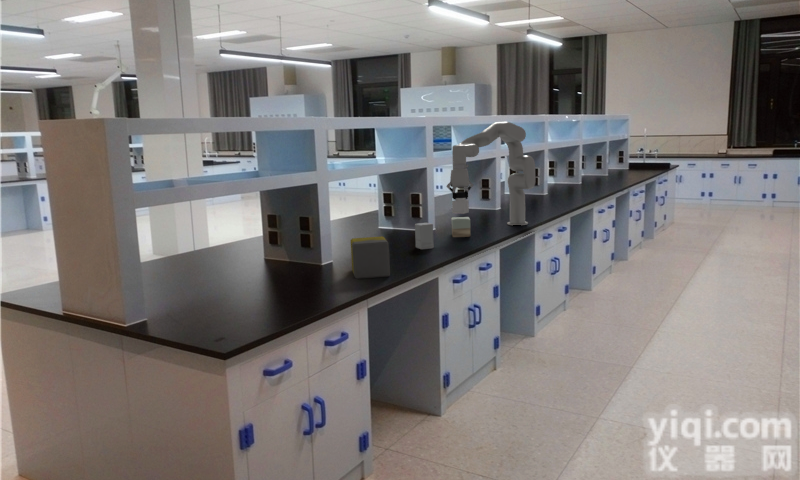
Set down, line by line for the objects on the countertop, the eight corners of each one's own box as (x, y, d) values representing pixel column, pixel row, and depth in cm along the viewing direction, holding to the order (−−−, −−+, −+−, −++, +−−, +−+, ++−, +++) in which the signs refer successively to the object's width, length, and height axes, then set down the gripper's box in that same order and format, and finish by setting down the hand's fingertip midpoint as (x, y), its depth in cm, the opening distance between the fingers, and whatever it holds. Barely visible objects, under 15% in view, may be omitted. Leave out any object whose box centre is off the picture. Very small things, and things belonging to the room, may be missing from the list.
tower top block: (451, 226, 354) (451, 217, 353) (468, 225, 354) (468, 216, 353) (452, 228, 344) (452, 220, 343) (470, 228, 344) (470, 219, 343)
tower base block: (452, 234, 355) (451, 226, 354) (469, 234, 354) (469, 225, 353) (452, 237, 345) (452, 228, 344) (470, 237, 345) (470, 228, 344)
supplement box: (434, 248, 316) (433, 224, 313) (421, 249, 313) (420, 225, 311) (428, 245, 322) (427, 222, 320) (415, 247, 320) (414, 223, 317)
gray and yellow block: (383, 264, 282) (381, 232, 279) (390, 276, 258) (388, 241, 256) (350, 267, 280) (348, 234, 277) (355, 279, 256) (353, 244, 253)
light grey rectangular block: (469, 212, 348) (468, 191, 346) (463, 214, 342) (463, 192, 340) (457, 211, 352) (457, 191, 350) (452, 213, 346) (451, 192, 344)
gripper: (472, 166, 348) (473, 197, 351) (442, 167, 345) (443, 199, 348) (476, 166, 340) (476, 198, 344) (446, 168, 337) (447, 200, 341)
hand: (460, 198), depth 346 cm, fingers closed on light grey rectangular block, 6 cm apart
